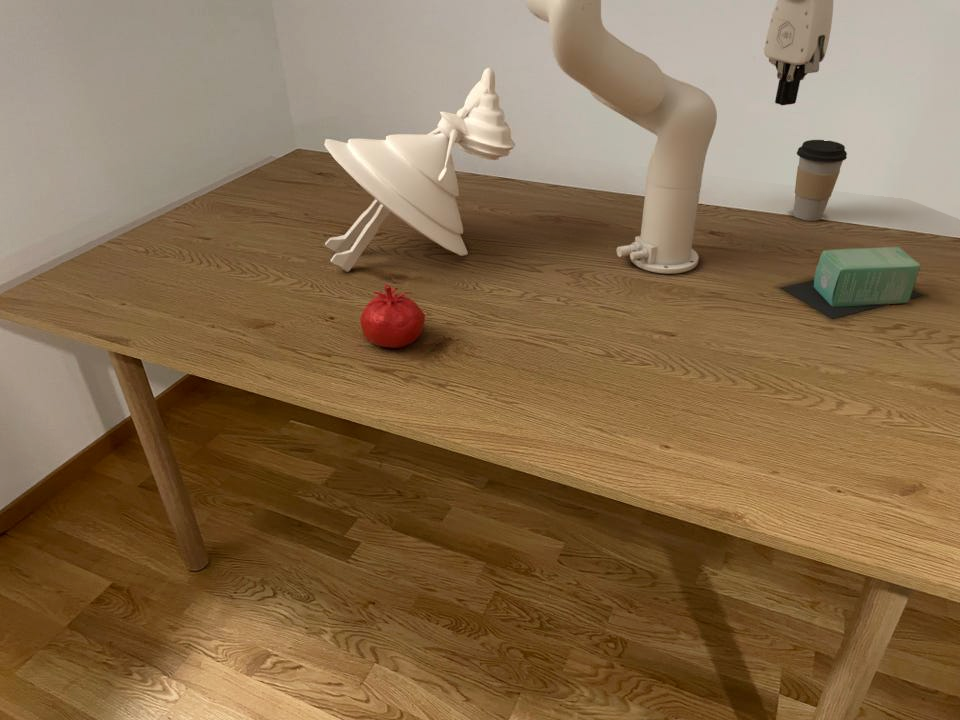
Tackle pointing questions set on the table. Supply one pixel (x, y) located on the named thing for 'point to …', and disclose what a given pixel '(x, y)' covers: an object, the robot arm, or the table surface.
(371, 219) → the figurine
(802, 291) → the mat
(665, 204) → the robot arm
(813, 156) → the coffee cup
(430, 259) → the table surface
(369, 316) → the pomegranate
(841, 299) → the box
